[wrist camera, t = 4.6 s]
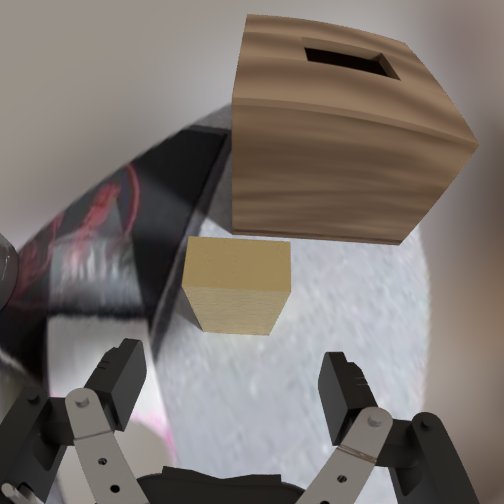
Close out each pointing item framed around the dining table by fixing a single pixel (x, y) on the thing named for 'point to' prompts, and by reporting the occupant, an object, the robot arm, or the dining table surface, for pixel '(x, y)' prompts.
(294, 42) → the box
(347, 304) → the dining table surface
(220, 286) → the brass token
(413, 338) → the dining table surface
